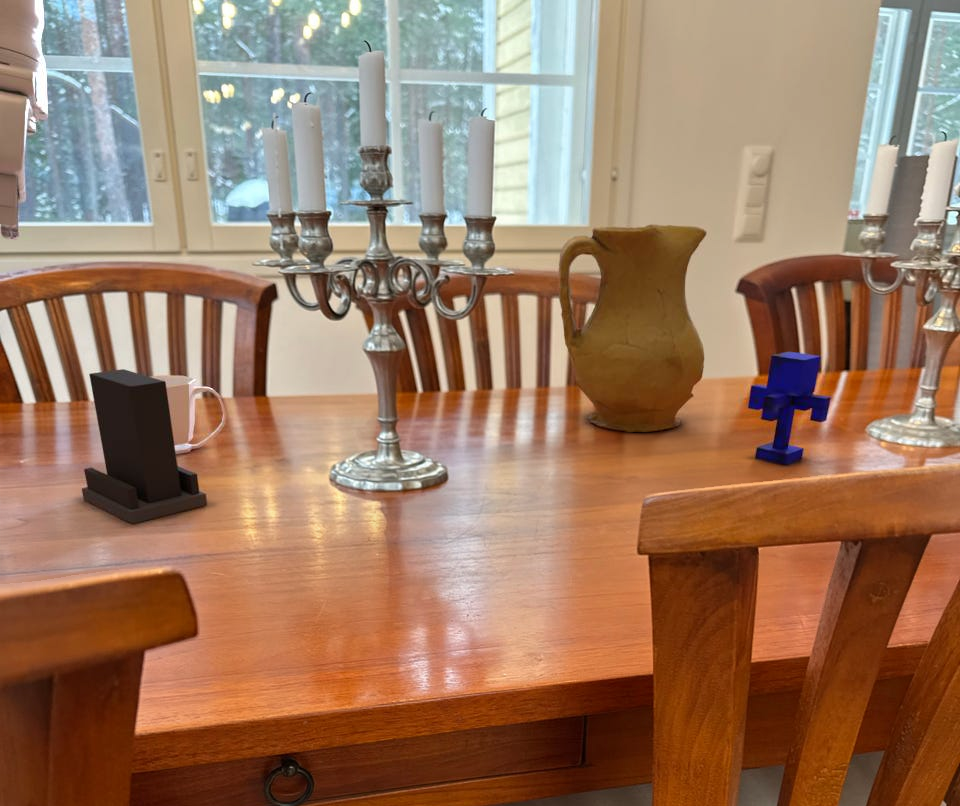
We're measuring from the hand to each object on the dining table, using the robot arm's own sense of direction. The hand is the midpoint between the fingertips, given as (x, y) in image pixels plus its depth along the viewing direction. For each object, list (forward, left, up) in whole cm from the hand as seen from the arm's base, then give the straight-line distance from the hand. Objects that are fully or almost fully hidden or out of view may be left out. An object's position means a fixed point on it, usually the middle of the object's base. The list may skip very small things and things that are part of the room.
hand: (8, 232), depth 98 cm
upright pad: (+14, -25, -22) cm, 36 cm away
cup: (+16, -5, -23) cm, 29 cm away
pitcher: (+74, +3, -23) cm, 78 cm away
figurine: (+86, -18, -23) cm, 91 cm away
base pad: (+14, -25, -23) cm, 37 cm away
